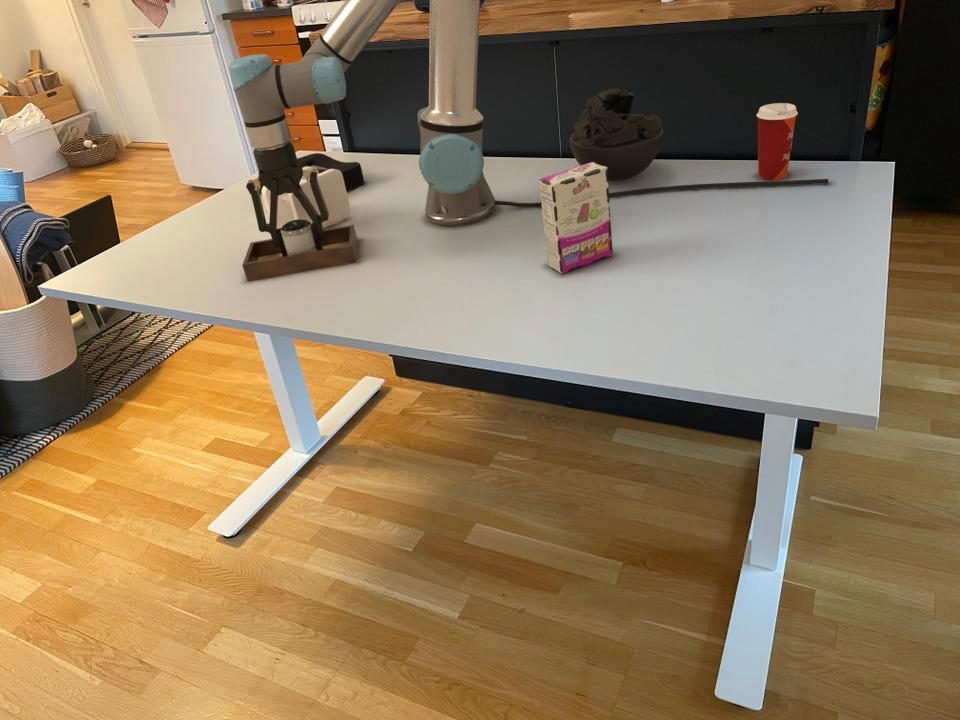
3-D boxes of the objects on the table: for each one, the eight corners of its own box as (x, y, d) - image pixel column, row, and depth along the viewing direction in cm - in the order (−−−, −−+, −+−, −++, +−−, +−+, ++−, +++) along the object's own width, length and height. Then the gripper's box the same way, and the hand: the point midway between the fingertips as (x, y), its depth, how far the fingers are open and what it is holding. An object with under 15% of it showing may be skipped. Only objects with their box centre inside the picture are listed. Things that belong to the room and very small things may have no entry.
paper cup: (797, 179, 152) (804, 109, 145) (759, 184, 153) (763, 114, 146) (784, 167, 159) (790, 100, 152) (748, 172, 160) (751, 105, 152)
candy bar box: (597, 247, 137) (592, 160, 129) (613, 256, 133) (609, 166, 125) (545, 266, 134) (537, 177, 125) (560, 275, 130) (553, 184, 121)
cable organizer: (302, 242, 160) (287, 190, 154) (272, 235, 166) (257, 184, 160) (353, 216, 169) (341, 166, 163) (323, 210, 175) (310, 162, 169)
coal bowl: (646, 158, 176) (644, 75, 166) (676, 184, 159) (677, 93, 149) (563, 173, 175) (557, 90, 165) (585, 201, 158) (579, 110, 148)
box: (357, 240, 157) (353, 224, 155) (356, 262, 147) (352, 245, 145) (255, 257, 156) (250, 242, 154) (247, 281, 146) (242, 265, 144)
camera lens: (296, 269, 148) (285, 232, 144) (285, 260, 152) (274, 224, 148) (325, 258, 150) (315, 222, 146) (313, 250, 155) (303, 214, 151)
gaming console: (254, 192, 195) (246, 165, 191) (318, 169, 205) (311, 143, 202) (306, 210, 177) (299, 181, 173) (373, 184, 187) (367, 156, 184)
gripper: (324, 130, 142) (352, 242, 155) (224, 148, 142) (259, 258, 154) (322, 141, 136) (351, 256, 148) (217, 159, 135) (254, 273, 148)
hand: (304, 257), depth 151 cm, fingers closed on camera lens, 6 cm apart
